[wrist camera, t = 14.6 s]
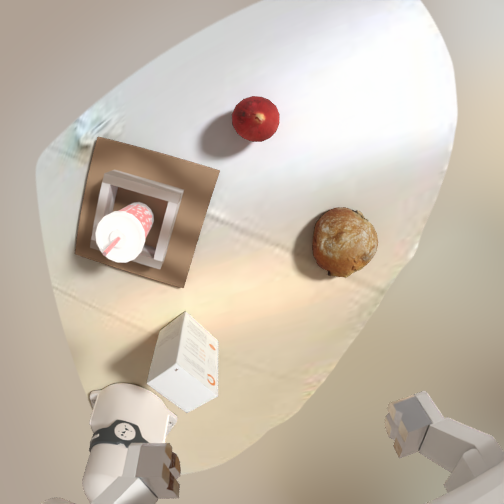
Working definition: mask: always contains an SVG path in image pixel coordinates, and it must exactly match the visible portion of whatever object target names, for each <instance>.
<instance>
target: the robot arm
mask: <svg viewBox="0 0 504 504" xmlns="http://www.w3.org/2000/svg"><path fill="white" fill-rule="evenodd" d="M90 400H91V404H92V407H93V412H92V415H91V419H90V422H89V424H90V425H91V429H92V431H93V433H94V434H93V437H92V439H91V442H90V448H89V451H90V456H89V459H88V462H87V466H86V469H85V472H84V476H83V480H82V481H83V482H82V484H83V490H84V492H85V495H86V496H87V498H88V500H89V503H90V504H155V503H156V502H157V501H158V498H160V499H161V498H162V499H163V498H164V499H165V498H166V499H169V498H179V488H180V484H179V483H178V481H177V480H176V479H177V478H178V477H179V476H180V473H181V467H180V461H179V458H178V456H177V454H176V453H174V452H172V446H171V445H170V443H165V438H166V436H167V435H168V433H169V432H170V431H171V429H172V428H173V427H174V425H175V424H176V422H177V419H178V417H177V416H176V415H175V414H174V413H172V412H171V411H170V410H168V409H167V407H166V406H165V404H164V403H163V401H162V400H161V399H160V398H159V397H158V396H156V395H155V394H154V393H152V392H151V391H149V390H147V389H145V388H142V387H140V386H137V385H133V384H127V383H117V384H112V385H109V386H107V387H106V388H104V389H102V390H96V391H92V392H91V393H90ZM387 409H388V412H389V413H388V414H387V415H386V418H385V428H386V431H387V434H388V436H389V438H391V439H393V440H395V442H394V445H393V446H394V449H395V451H396V453H397V455H398V457H399V458H402V457H404V456H407V455H410V454H413V453H415V452H418V451H419V453H420V454H422V455H424V456H425V457H427V458H428V459H430V460H432V461H433V462H435V463H436V464H438V465H439V466H441V467H443V468H444V469H446V470H448V471H449V472H451V474H450V476H449V477H448V479H447V480H446V482H445V484H444V486H445V488H446V490H447V494H444V495H442V496H440V497H438V498H436V499H434V500H432V501H430V502H427V503H425V504H504V452H503V451H502V449H501V448H500V446H499V444H498V443H497V441H496V440H495V439H494V437H493V436H491V435H489V434H486V433H484V432H482V431H479V430H477V429H474V428H472V427H470V426H467V425H465V424H462V423H460V422H457V421H455V420H453V419H450V418H448V417H447V418H444V417H443V415H442V414H441V412H440V411H439V409H438V408H437V406H436V405H435V403H434V402H433V400H432V399H431V397H430V396H429V394H428V393H427V392H426V391H421V392H419V393H416V394H414V395H410V396H407V397H405V398H402V399H399V400H397V401H394V402H391V403H389V404H388V408H387ZM40 504H75V503H72V502H70V501H68V500H65V499H63V498H50V499H48V500H45V501H43V502H41V503H40Z"/></svg>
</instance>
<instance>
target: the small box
mask: <svg viewBox="0 0 504 504" xmlns="http://www.w3.org/2000/svg"><path fill="white" fill-rule="evenodd" d="M146 384H148V385H149V386H150V387H152V388H153V389H154V390H156V391H157V392H158V393H160V394H161V395H162V396H164V397H165V398H166V399H168V400H169V401H171V402H172V403H173V404H175V405H176V406H178V407H179V408H180V409H182V410H183V411H185V412H186V413H188V412H190V411H192V410H194V409H196V408H198V407H199V406H201V405H203V404H205V403H207V402H208V401H210V400H212V399H214V398H216V397H218V340H217V339H215V338H214V337H213V336H212V335H211V334H210V333H209V332H208V331H207V330H206V329H205V328H204V327H203V326H201V325H200V324H199V323H198V322H197V321H196V320H195V319H194V318H193V317H192V316H191V315H190V314H189V313H187V312H186V311H185V312H184V313H182V314H181V315H180V316H178V317H177V318H176V319H175V320H173V321H172V322H171V323H169V324H168V325H167V326H165V327H164V328H163V329H161V330H160V332H159V335H158V339H157V343H156V346H155V350H154V354H153V358H152V362H151V366H150V370H149V374H148V379H147V383H146Z"/></svg>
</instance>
